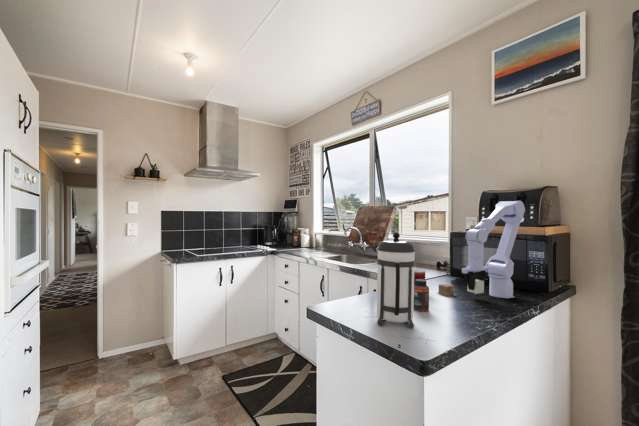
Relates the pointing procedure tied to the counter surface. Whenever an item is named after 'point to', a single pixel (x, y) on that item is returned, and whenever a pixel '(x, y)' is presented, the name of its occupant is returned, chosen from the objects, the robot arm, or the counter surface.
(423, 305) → the supplement bottle
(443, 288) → the walnut block
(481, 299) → the counter surface
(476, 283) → the sage block
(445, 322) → the counter surface
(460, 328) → the counter surface
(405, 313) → the coffee press
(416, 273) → the canned food
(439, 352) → the counter surface
